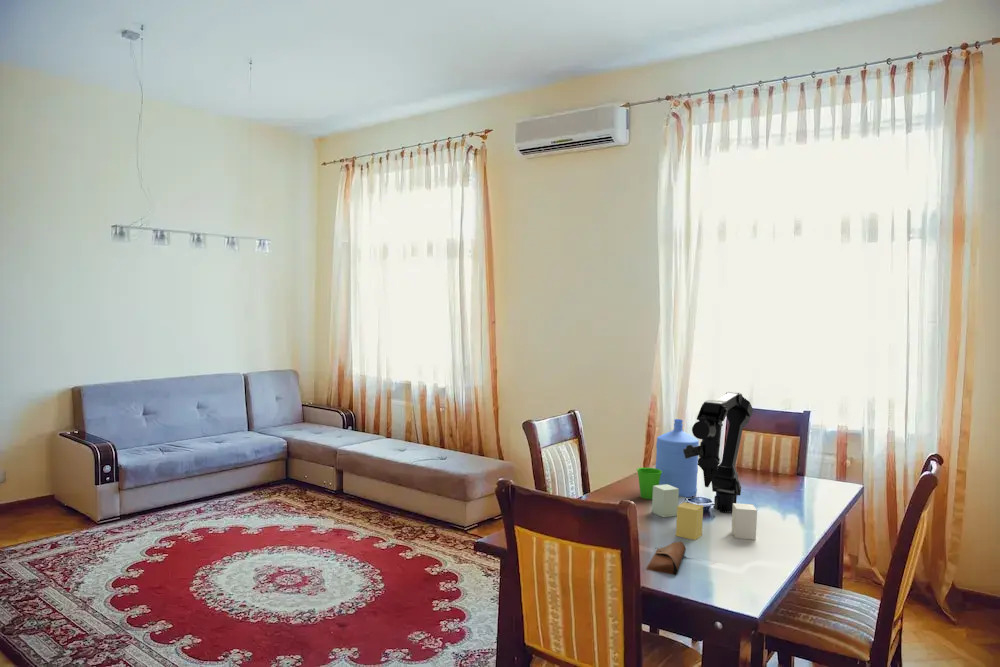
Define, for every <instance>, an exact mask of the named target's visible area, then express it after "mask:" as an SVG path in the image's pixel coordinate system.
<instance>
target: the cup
mask: <svg viewBox="0 0 1000 667" xmlns="http://www.w3.org/2000/svg"><path fill="white" fill-rule="evenodd" d="M636 471H637V477H638V485H639V493H640V494H639V495H640V498H642V499H644V500H653V486H655V485H659V481H660V476H661V473H662V471H661V470H659V469H655V467H639V468H637V469H636Z"/></svg>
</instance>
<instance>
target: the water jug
mask: <svg viewBox="0 0 1000 667" xmlns="http://www.w3.org/2000/svg"><path fill="white" fill-rule="evenodd" d="M673 422H674V423H673V429H672V430H670V431H668V432H666V433H663V434H660V435H658V436H657V437H656V445H655V446H656V447H655V448H656V454H655V455H656V457H655V466H654V468H655V469H659V470H661V471H662V473H661V476H660V481H659V485H666V484H668V485H671V486H673V487H676V488H678V489H679V496H681V497H683V498H685V497H689V498H692V497H691V496H693V497H695V496H696V495H697V493H698V488H697V485H698V471H699V465H698V459H699V455H698V456H693V457H690V458H686V459H685V455H684V451H683V449H685V448H686V447H687V446H688V445H692V446H693V447H695V446H700V444H699V439H698V438H696V437H695V436H694V435H691V434H690V433H687V432H685V431H684V430H683V426H684V425H683V422H684V420H683V419H679V418H677V419H675V418H674V421H673Z"/></svg>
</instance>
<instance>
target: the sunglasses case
mask: <svg viewBox="0 0 1000 667" xmlns="http://www.w3.org/2000/svg"><path fill="white" fill-rule="evenodd" d="M686 550H687V548H686V546H685V544H684V543H683V541H676V542H672V543H670V544H668V545H666V546H664V547H659V548H657V549H656V550H655V553H654V555H653V557H652V558H651V560H650V562H649V563H648V565H647V566H646V570H647V571H653V572H658V573H663V574H668V575H674V576H676V575H677V574H678V573H679V570H680V567H681V565H682V562H683V559H684V556H685V553H686Z"/></svg>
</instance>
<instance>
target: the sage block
mask: <svg viewBox="0 0 1000 667" xmlns="http://www.w3.org/2000/svg"><path fill="white" fill-rule="evenodd" d="M679 496H680V495H679V489H678V488H676V487H673V486H671V485H668V484H666V485H655V486H653V499H651V500H652V502H651V503H652V506H651V513H653V514H654V515H657V516H660V517H661V518H666V517H667V518H668V517H677V506H679Z"/></svg>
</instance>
